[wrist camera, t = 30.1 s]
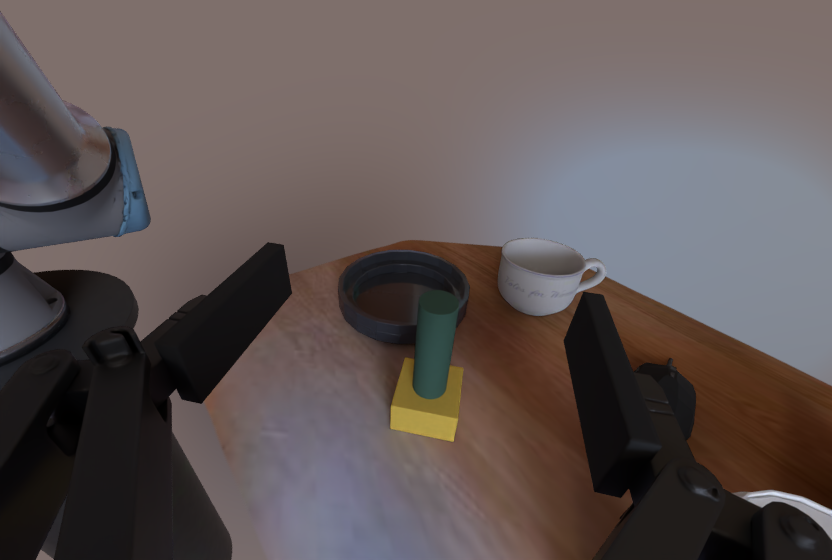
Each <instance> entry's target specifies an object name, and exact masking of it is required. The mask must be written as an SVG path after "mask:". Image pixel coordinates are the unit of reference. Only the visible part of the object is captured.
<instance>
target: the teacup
mask: <svg viewBox="0 0 832 560" xmlns="http://www.w3.org/2000/svg"><path fill="white" fill-rule="evenodd" d="M591 267H596V268H597V272H596V274H595V275H594V276H593V277H591V278H590V279H588V280H586V281H583V282H580V280H581V277H582V274H583V273H584V271H586V270H587V269H588V268H591ZM605 275H606V267H605V265H604V264H603V262H601V261H600V260H598V259H595V258H591V259H586V260H585V259H584V258H583V256H582V255H581V254H579V253H578V252H577V251H575V250H574V249H572V248H570V247H568V246H566V245H563V244H560V243H558V242H554V241H549V240H545V239H538V238H521V239H515V240H511V241H509V242H507V243H506V244H505V245H504V246H503V248H502V257H501V262H500V267H499V273H498V289H499V292H500V294H501V295H502V297H503V298H504V299H505V300H506V301H507V302H508V303H509V304H510V305H511V306H512V307H513V308H515V309H516V310H518V311H520V312H523V313H525V314H529V315H534V316H544V315H549V314H553V313H557V312H560V311H562V310H564V309H565V308H567V307H568V306H569V305H570V303H571V302H572V300H573V298H574V296H575V294H577V293H578V292H580V291H583V290H586V289H589V288H591V287H594V286H596V285H597V284H599V283H600V282H601V281H602V280H603V279H604V278H605Z"/></svg>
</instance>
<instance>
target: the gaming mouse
mask: <svg viewBox="0 0 832 560" xmlns="http://www.w3.org/2000/svg"><path fill="white" fill-rule="evenodd" d="M672 361H673V359H672V358H670V359H669V361H668V364H667V365H658V364H652V363H644V364H642V365H640V366H639V367H638V368H637V369H636V370H635V371H634V372H636V373H641V374H647V375H651V376H652V378H653V379H654V380H655V381H656V382H657V383H658V384H659V385H660V386H661V388H662V389H663V391H664V393H665V395H666V398H667V400H668V402H669V403H668V404H669V405H670V406H671V409H672V411H673V413H674V417H676V419H677V422H678V424H679V426H680V428H681V430H682V433H683V435H684V437H685V439H686V440H687V439H688V438H689V437H690V436H691V432H692V428H693V425H694V416H695V406H696V393H695V390H694V387H693V385H692V384H691V383H690V382H689V381H688V380H687V379H685V378H684V377H683V376H682V375H681V374H680V373H679V372H678V371H677V370H676V369H677V368H676V367H674V366H672Z"/></svg>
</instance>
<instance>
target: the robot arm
mask: <svg viewBox="0 0 832 560" xmlns="http://www.w3.org/2000/svg"><path fill="white" fill-rule="evenodd" d="M150 220H151V218H150V214H149V210H148V206H147V202H146V199H145V194H144V191H143V187H142V183H141V180H140V175H139V171H138V168H137V164H136V160H135V157H134V153H133V149H132V145H131V141H130V137H129V135H128V134H127V132H126V131H124V130H122V129H116V128H111V127H103V128H102V127H101V126H100V124H99V123H98V122H97V121H96V120H95V119H94V118H93V117H92V116H90V115H89V114H88V113H86V112H85V111H83V110H82V109H80V108H79V107H77V106H75V105H73V104H71V103H68V102H66V101H63V100H62V99H61V98H60V96H59V95H58V94H57V92H56V91H55V89H54V88H53V86H52V85H51V83H50V82H49V81H48V79H47V78H46V76H45V75H44V73H43V72H42V70H41V69H40V68H39V66H38V65H37V63H36V62H35V60H34V59H33V57H32V56H31V55H30V53H29V52H28V50H27V49H26V47H25V46H24V45H23V43H22V42H21V40H20V39H19V37H18V36H17V34H16V33H15V32H14V30H13V29H12V27H11V26H10V24H9V23H8V21H7V20H6V19H5V17H4V16H3V14H2V13H1V11H0V367H2V366H4V365H7V364H9V363H11V362H13V361H15V360H18V359H20V358H22V357H23V356H25V355H27V354H29V353H31V352H32V351H34V350H36V349H37V348H39V347H41V346H42V345H43V344H45V343H46V342H48V341H49V340H50V339H52V338H53V337H54V336H55V335H56V334H57V333H58V332H59V331H60V330H61V329H62V328H63V327H64V326H65V325H66V323H67V321H68V319H69V317H70V312H71V310H70V307H69V305H68V303H67V302H66V300H65V299H64V297H63V296H62V294H61V293H60V292H59V291H57V290H56V289H54V288H53V287H52V286H50V285H49V284H47V283H46V282H45V281H43V280H42V279H41V278H39V277H38V276H37V275H35V274H34V273H32V272H31V271H30V270H28V269H27V268H26V267H24V266H23V265H21V264H20V263H19V262H18V261H17V260H16V259H15V258H14V256H13V255H12V253H11V252H12V251H17V250H24V249H30V248H37V247H43V246H50V245H56V244H63V243H69V242H76V241H83V240H89V239H96V238H102V237H109V236H114V237H120V236H122V235H123V234H126V233H131V232H136V231H141V230H143V229H145V228H147V227H148V225H149V224H150ZM291 294H292V291H291V285H290V279H289V273H288V268H287V262H286V256H285V250H284V245H281V244H275V243H269V242H268V243H267V244H266V245H264V246H263V247H262V248H261V249H260V250H259V251H258V252H256V253H255V254H254V255H253V256H252V257H251V258H250V259H249V260H247V261H246V262H245V263H244V264H243V265H242V266H241V267H239V268H238V269H237V270H236V271H235V272H234V273H233V274H231V275H230V276H229V277H228V278H227V279H226V280H225V281H223V282H222V283H221V284H220V285H219V286H218V287H217V288H215V289H214V290H213V291H212V292H211V293H210V294H209V295H208V296H206V295H200V296H198V297H196V298H194V299H192V300H190V301H188V302H187V303H186V304H185V305H183V306H182V307H181V308H180V309H179V310H178V311H177V312H175V313H174V314H173V315H171V316H170V317H169V319H167V320H166V321H164V322H163V323H162V324H161V325H160V326H158V327H157V328H156V329H155V330H154V331H153V332H151V333H150V334H149V335H148V336H147V337H145V338H144V339H143V340H142V341H141V342H140V341H139V339H138V337H137V335H136V333H135V331H134V329H132V328H130V327H126V326H117V327H111V328H108V329H105V330H102V331H100V332H98V333H96V334H94V335H92V336H91V337H90V338H89V339H88V340H86V341H85V343H84V344H83V346H82V348H83V350H84V351H85V353H86V354H87V356H88V358H89V360H76V359H75V357H74V356H73V354H72V353H71V352H70V351H68V350H65V349H56V350H51V351H47V352H44V353H41V354H39V355H36V356H34V357H33V358H31V359H29V360H28V361H26V362H25V363H24V364H23V365H22V366H20V367H19V368H18V370H17V371H16V372H15V373H14V375H13V376H12V377H11V378H10V380H9V381H8V382H7V383H6V385H5V386H4V387H3V388H2V390H1V391H0V560H36V558H37V556H38V554H39V551H40V550H41V548H42V546H43V543H44V541H45V539H46V537H47V535H48V533H49V531H50V529H51V527H52V525H53V523H54V521H55V519H56V517H57V514H58V512H59V510H60V508H61V506H62V504H63V502H64V500H65V498H66V496H67V499H66V504H65V509H64V514H63V519H62V523H61V528H60V533H59V538H58V543H57V547H56V552H55V557H54V560H173V514H172V403H171V400H170V398H169V396H170V395H171V394H172V393H173V391H174V390H175V389H177V391H178V393H179V395H180V397H181V399H182V400H186V401H191V402H196V403H200V404H202V403H203V401H204V400H205V399H206V398H207V396H208V395H209V394H210V393H211V392H212V390H213V389H214V388H215V387H216V385H217V384H218V383H219V382H220V381H221V379H222V378H223V377H224V376H225V374H226V373H227V372H228V371H229V370H230V368H231V367H232V366H233V365H234V363H235V362H236V361H237V360H238V359H239V357H240V356H241V355H242V354H243V352H244V351H245V350H246V349H247V348H248V346H249V345H250V344H251V343H252V341H253V340H254V339H255V338H256V337H257V335H258V334H259V333H260V332H261V330H262V329H263V328H264V327H265V326H266V324H267V323H268V322H269V321H270V319H271V318H272V317H273V316H274V315H275V313H276V312H277V311H278V310H279V308H280V307H281V306H282V305H283V304H284V302H285V301H286V300H287V299H288V298H289V296H290V295H291ZM564 345H565V350H566V355H567V360H568V364H569V369H570V374H571V379H572V384H573V389H574V394H575V399H576V404H577V409H578V414H579V419H580V424H581V429H582V434H583V439H584V444H585V448H586V453H587V458H588V463H589V468H590V473H591V478H592V483H593V488H594V492H597V493H601V494H606V495H610V496H615V497H619V498H621V497H622V496H623V495H624V494H625V492H626V491H627V490H628V489H629V490H630V493H631V497H632V501H633V503H632V504H631V505H630V507H629V508H628V509H627V510H626V511H625V512H624V514H623V515H622V516H621V517H620V521H619V522H618V524H617V525H616V526H615V528H614V529H613V531H612V532H611V534H610V535H609V536H608V538H607V539H606V541H605V542H604V543H603V545H602V546H601V548H600V549H599V551H598V552H597V553H596V555H595V556H594V558H593V559H592V560H832V540H831V538H830V537H829V536H828V534H827V533H826V532H825V530H824V529H823V528H822V527H821V526H820V525H819V524H818V523H817V522H816V521H814V520H813V519H812V518H811V517H810V516H809V515H807V514H806V513H804V512H802V511H801V510H799V509H798V508H796V507H794V506H791V505H789V504H787V503H784V502H776V501H772V502H770V503H768V504H766V505H765V506H764V507H760V506H758V505H755V504H753V503H751V502H749V501H747V500H745V499H743V498H741V497H739V496H737V495H734V494H732V493H730V492H729V491H727V490H725V489H723V487H722V485H721V484H720V482H719V481H718V480H717V478H716V477H715V476H714V475H713V474H712V473H711V472H710V471H709V470H708V469H706V468H705V467H704V466H702V465H701V464H699V463H697V462H696V461H695V459H694V457H693V455H692V452H691V450H690V448H689V446H688V444H687V441H686V439H685V437H684V435H683V433H682V430H681V428H680V426H679V424H678V422H677V419H676V417H674V413H673V411H672V409H671V406H670V405H669V404H668V403H669V402H668V400H667V398H666V395H665V393H664V391H663V389H662V388H661V386H660V385H659V384H658V383H657V382H656V381H655V380H654V379H653V378H652V376H651V375H647V374H641V373H636V372H633V370H632V368H631V365H630V362H629V360H628V357H627V355H626V352H625V350H624V347H623V345H622V342H621V339H620V337H619V334H618V332H617V329H616V327H615V324H614V322H613V319H612V316H611V314H610V311H609V309H608V306H607V304H606V301H605V298H604V296H603V295H601V294H594V293H588V292H583V294H582V297H581V299H580V302H579V304H578V307H577V309H576V311H575V314H574V316H573V319H572V321H571V324H570V326H569V329H568V331H567V334H566V336H565V339H564ZM50 417H51V418H50ZM49 418H50V420H49ZM48 420H49V421H48ZM67 494H68V495H67Z"/></svg>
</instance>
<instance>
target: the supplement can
mask: <svg viewBox="0 0 832 560" xmlns="http://www.w3.org/2000/svg"><path fill="white" fill-rule="evenodd" d="M732 494H734V495H737V496H739V497H741V498H743V499H745V500H747V501H749V502H751V503H753V504H755V505H758V506H760V507H764V506H765V505H766V504H768V503H770V502H772V501H776V502H784V503H787V504H789V505H791V506H794V507H796V508H798V509H799V510H801V511H802V512H804V513H806V514H807V515H809V516H810V517H811V518H812V519H813V520H814V521H816V522H817V523H818V524H819V525H820V526H821V527H822V528H823V529H824V530H825V532H826V533H827V534H828V536H829V537H830V538H831V540H832V510H831V509H829V508H827V507H824V506H822V505H820V504H818V503H816V502H813V501H811V500H809V499H807V498H805V497H802V496H798V495H793V494H789V493H785V492H780V491H776V490H765V491H757V492H736V493H732Z"/></svg>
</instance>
